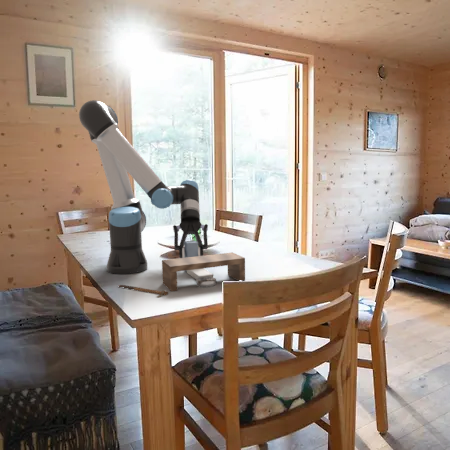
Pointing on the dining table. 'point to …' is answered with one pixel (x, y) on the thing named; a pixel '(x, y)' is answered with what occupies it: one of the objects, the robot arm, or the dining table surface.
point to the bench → (202, 266)
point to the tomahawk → (146, 290)
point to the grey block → (192, 251)
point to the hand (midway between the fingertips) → (191, 264)
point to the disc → (206, 281)
